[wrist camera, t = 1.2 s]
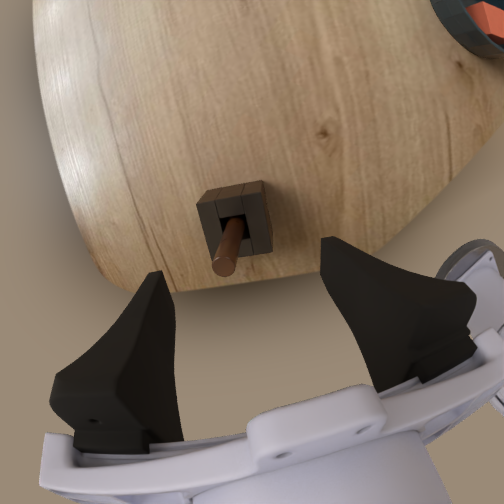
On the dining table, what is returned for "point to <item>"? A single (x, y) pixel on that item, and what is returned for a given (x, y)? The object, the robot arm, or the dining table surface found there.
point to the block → (488, 20)
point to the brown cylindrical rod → (229, 246)
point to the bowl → (468, 26)
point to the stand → (231, 204)
